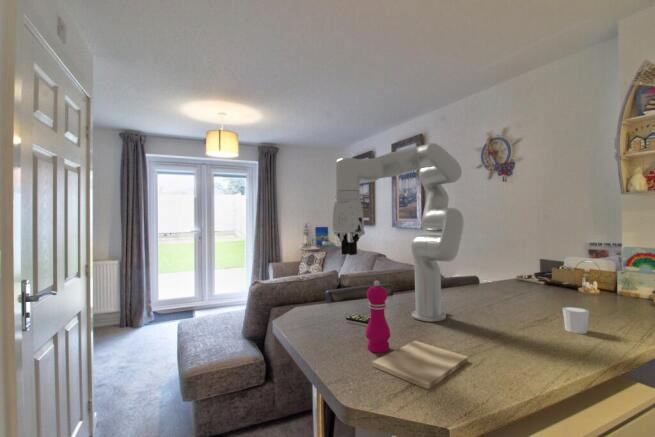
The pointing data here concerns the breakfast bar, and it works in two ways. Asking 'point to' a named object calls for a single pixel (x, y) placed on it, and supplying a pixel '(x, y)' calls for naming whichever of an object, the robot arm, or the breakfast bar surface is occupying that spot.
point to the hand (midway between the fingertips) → (349, 253)
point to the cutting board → (420, 363)
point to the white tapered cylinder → (576, 319)
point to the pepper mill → (377, 320)
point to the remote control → (358, 319)
